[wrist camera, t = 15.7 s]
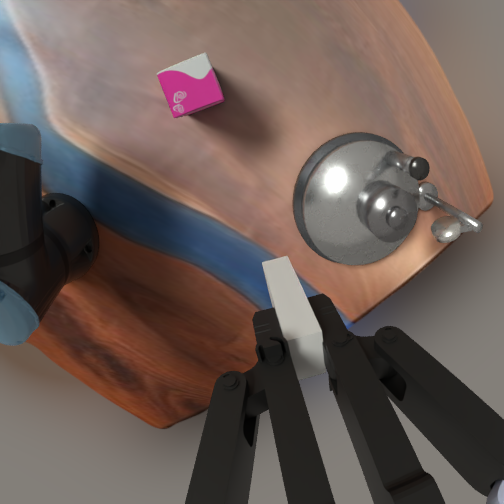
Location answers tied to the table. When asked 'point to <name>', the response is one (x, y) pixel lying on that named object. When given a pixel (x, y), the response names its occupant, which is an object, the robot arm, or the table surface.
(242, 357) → the table surface
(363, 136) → the base
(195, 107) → the supplement box
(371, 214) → the cover
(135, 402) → the table surface
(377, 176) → the turntable
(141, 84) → the table surface
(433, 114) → the table surface
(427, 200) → the metal lever handle
